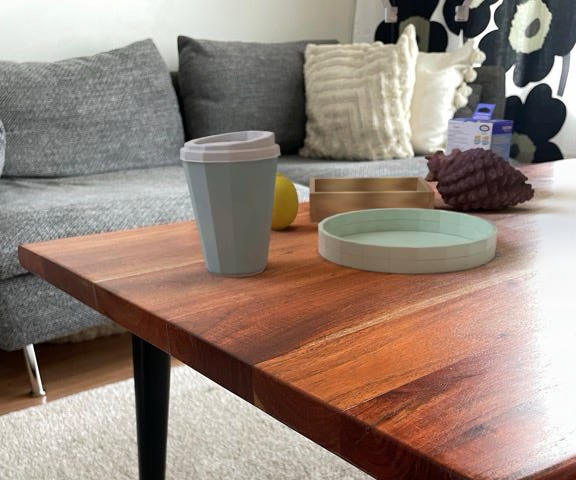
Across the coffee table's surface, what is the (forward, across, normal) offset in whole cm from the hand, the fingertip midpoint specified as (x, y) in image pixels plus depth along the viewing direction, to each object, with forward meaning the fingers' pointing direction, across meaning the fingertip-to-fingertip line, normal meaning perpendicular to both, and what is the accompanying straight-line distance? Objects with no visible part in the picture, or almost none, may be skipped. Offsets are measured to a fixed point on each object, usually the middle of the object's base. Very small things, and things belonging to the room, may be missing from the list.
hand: (426, 21), depth 97 cm
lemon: (+26, +20, +10) cm, 34 cm away
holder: (+26, +7, -1) cm, 27 cm away
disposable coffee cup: (+26, +24, +30) cm, 47 cm away
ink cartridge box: (+26, -12, -17) cm, 34 cm away
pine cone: (+26, -10, -5) cm, 29 cm away
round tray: (+26, +4, +22) cm, 34 cm away
